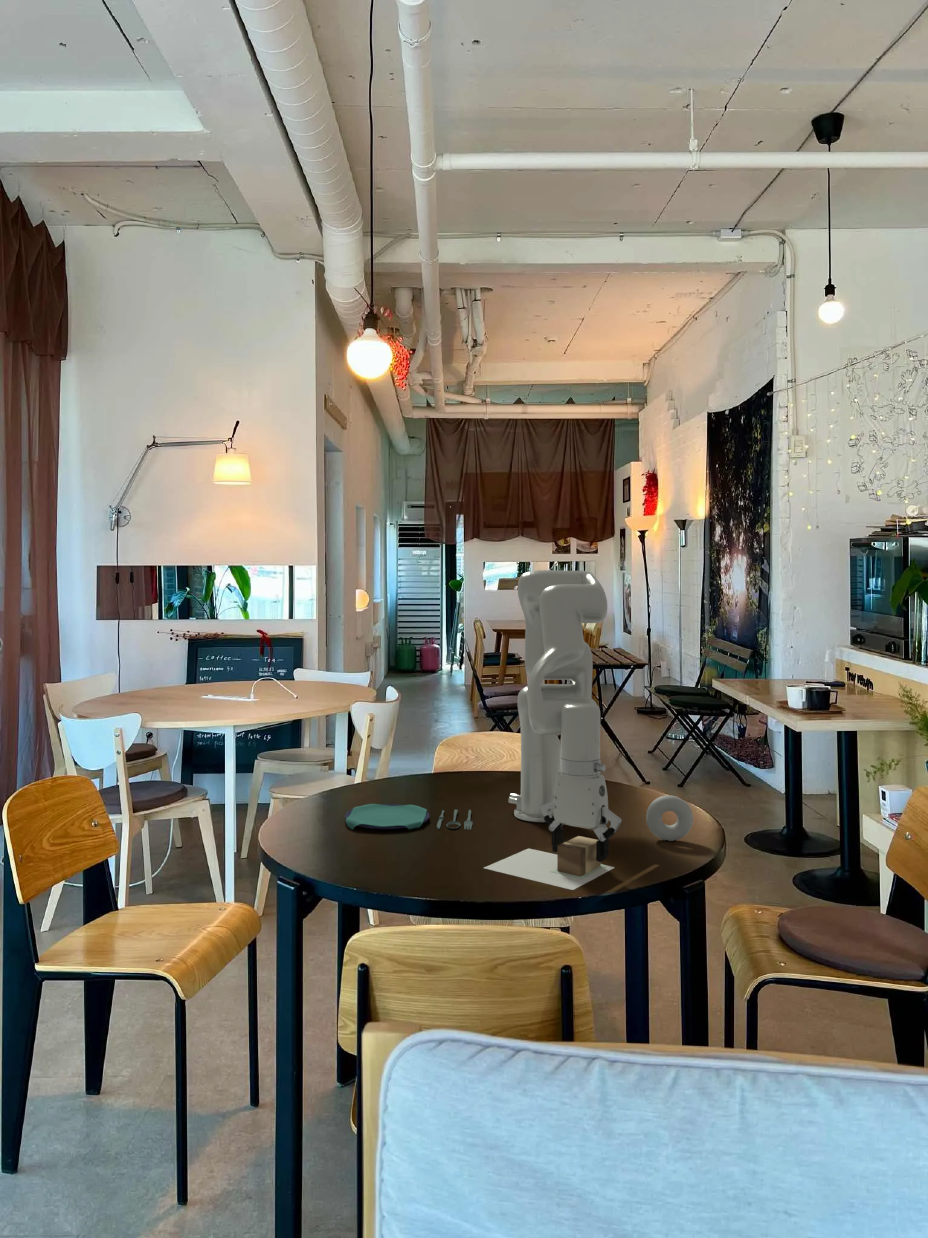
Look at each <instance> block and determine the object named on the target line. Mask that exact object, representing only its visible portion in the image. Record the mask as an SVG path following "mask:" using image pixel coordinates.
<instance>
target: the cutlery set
mask: <svg viewBox="0 0 928 1238" xmlns="http://www.w3.org/2000/svg"><path fill="white" fill-rule="evenodd" d="M453 810H454V811H453V819H452V820H453V821H452V820H450V821H448V822H447V823H446V824H445V825H446V827H447V828H448V829H451V830H456V829H459V828H460V827H461V823H460V822H459V821H456V820H457V816H458V812H459V810H458V809H453ZM444 814H445V810H444V809H442V810H441V814H440V815H439V816H438V821H437V824H436V828H437V830H441V827H442V822H444V819H445V818H444ZM471 816H472V810H471V809H468V813H467V819H466V820H464V822H463V825H464V828H463V829H464V831H466V830H467V831H471V830H472V827H473V825H474V823H473V821H471V819H472V818H471ZM344 818H345V822H346V825H347V827H348V828H349V829H350V830H353V829H355V827H356V826H358V827H361V828H366V829H375V830H376V829H378V830H398V829H404V828H405V829H408V830H412V829H418V828H420V827H421V826H422V825H423V824H425V823H426V822H427V821H428V820H429V819H430V813H429V812H428V809H427V808H425V807H421V806H419V805H415V804H399V803H398V804H396V803H379V804H378V803H367V804H364V805H360V806H359V805H358V806H355V807H352V809H350V810H348V811H347V812H346V813H344ZM449 825H457V827H449Z"/></svg>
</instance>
